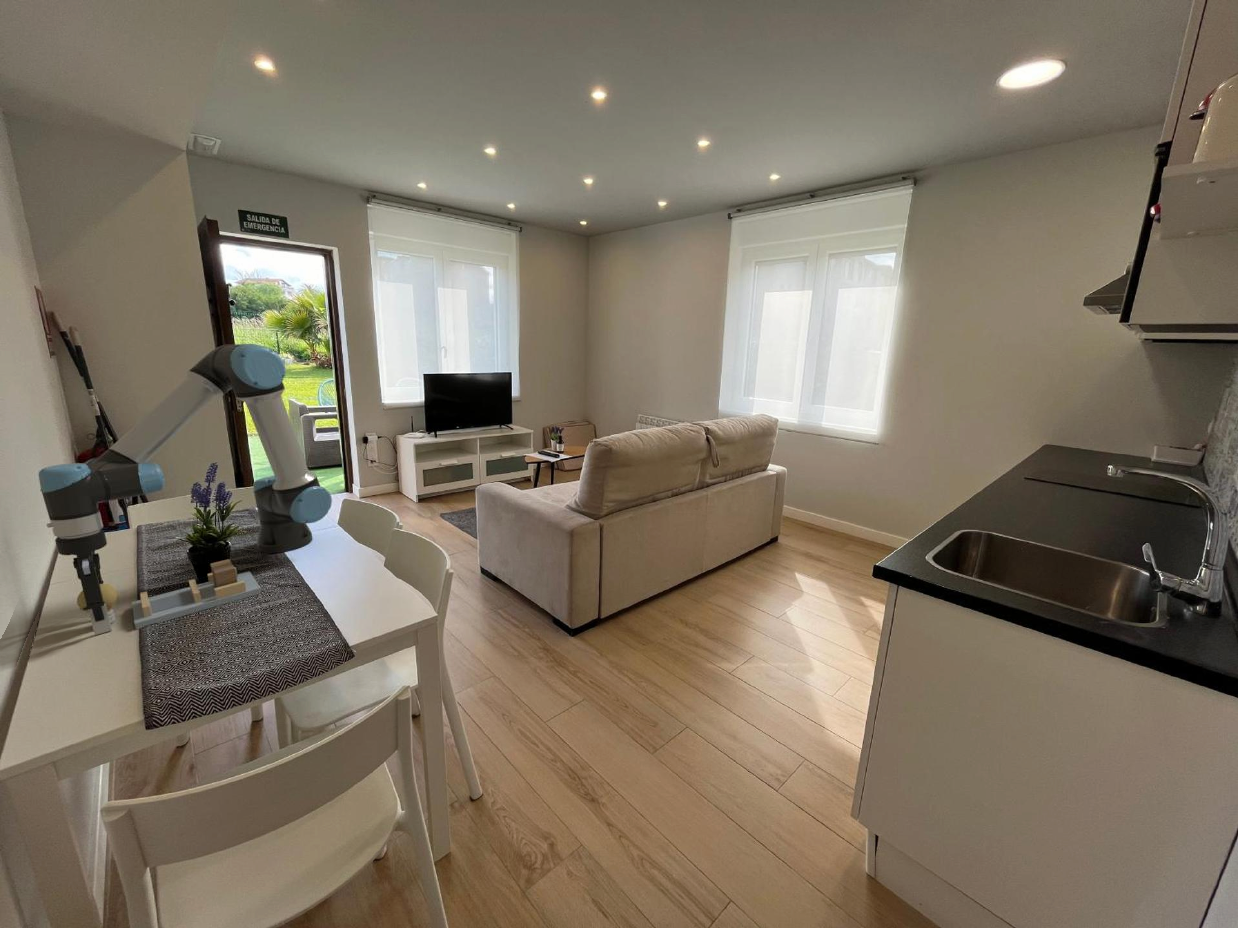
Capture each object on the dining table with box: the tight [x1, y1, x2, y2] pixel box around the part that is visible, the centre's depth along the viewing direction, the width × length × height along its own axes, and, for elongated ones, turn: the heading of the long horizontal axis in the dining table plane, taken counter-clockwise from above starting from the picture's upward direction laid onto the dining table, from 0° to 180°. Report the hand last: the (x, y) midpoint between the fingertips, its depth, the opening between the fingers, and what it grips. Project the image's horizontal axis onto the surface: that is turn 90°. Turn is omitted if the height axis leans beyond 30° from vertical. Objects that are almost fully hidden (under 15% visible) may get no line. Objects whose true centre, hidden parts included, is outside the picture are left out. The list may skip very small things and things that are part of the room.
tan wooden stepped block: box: [210, 558, 237, 588], centre depth 129 cm, size 8×4×6 cm, turn 46°
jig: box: [131, 566, 262, 630], centre depth 126 cm, size 14×24×4 cm, turn 136°
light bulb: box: [76, 583, 118, 625], centre depth 114 cm, size 6×6×10 cm
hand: (103, 624), depth 115 cm, fingers open, 8 cm apart
